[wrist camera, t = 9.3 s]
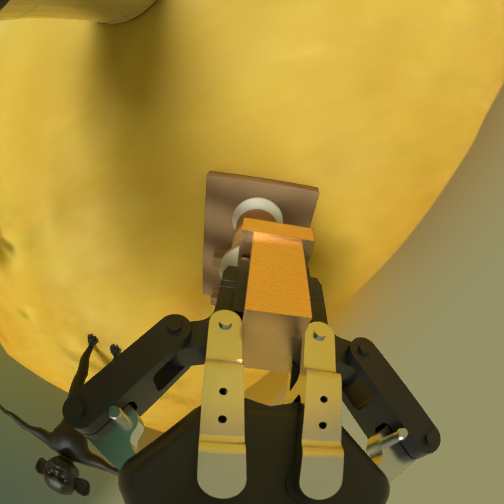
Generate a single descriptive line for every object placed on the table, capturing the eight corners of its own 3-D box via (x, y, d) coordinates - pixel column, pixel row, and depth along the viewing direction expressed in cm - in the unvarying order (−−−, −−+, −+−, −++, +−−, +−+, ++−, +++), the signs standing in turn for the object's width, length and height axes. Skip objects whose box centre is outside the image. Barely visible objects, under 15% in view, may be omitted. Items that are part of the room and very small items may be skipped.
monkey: (184, 367, 56) (152, 530, 24) (171, 393, 68) (146, 516, 36) (37, 302, 48) (-27, 438, 17) (52, 341, 60) (7, 451, 28)
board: (209, 171, 28) (182, 218, 20) (317, 187, 29) (335, 241, 21) (204, 288, 39) (189, 346, 31) (285, 299, 40) (286, 359, 31)
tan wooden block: (244, 217, 14) (227, 302, 9) (312, 228, 14) (329, 315, 9) (235, 280, 16) (221, 365, 12) (293, 289, 17) (297, 374, 12)
